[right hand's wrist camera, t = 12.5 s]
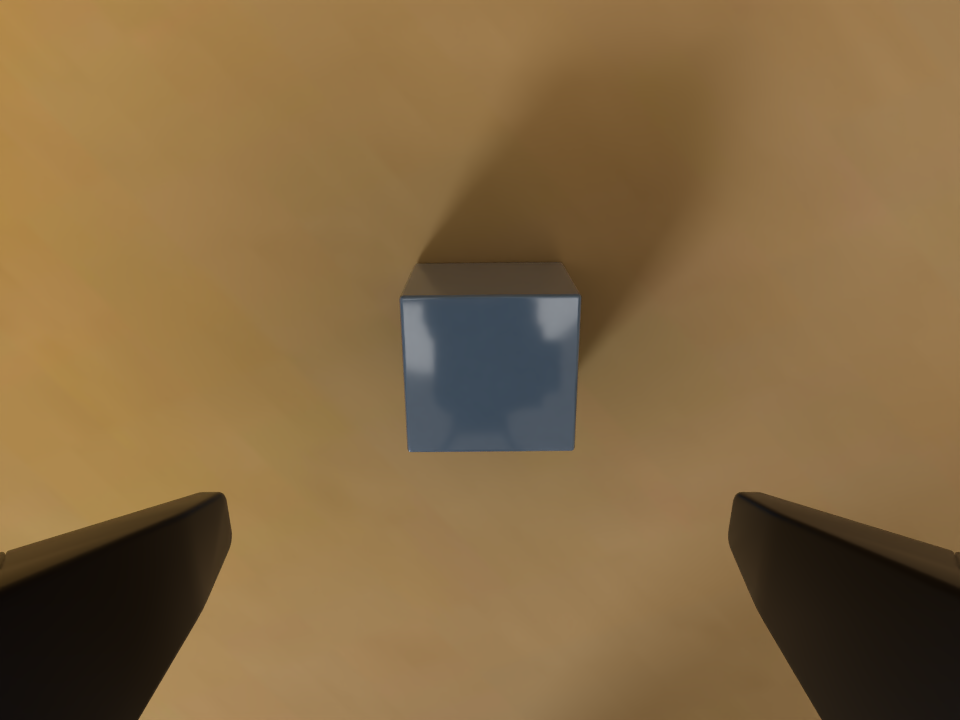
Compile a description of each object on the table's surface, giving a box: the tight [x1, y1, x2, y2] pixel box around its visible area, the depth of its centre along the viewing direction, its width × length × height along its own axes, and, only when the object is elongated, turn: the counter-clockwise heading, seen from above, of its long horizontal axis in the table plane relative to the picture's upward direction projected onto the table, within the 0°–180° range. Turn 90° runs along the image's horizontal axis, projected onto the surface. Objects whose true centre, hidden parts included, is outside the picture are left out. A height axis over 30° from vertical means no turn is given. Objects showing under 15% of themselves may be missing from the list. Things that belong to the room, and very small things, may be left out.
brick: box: [400, 262, 582, 452], centre depth 19 cm, size 5×4×4 cm
